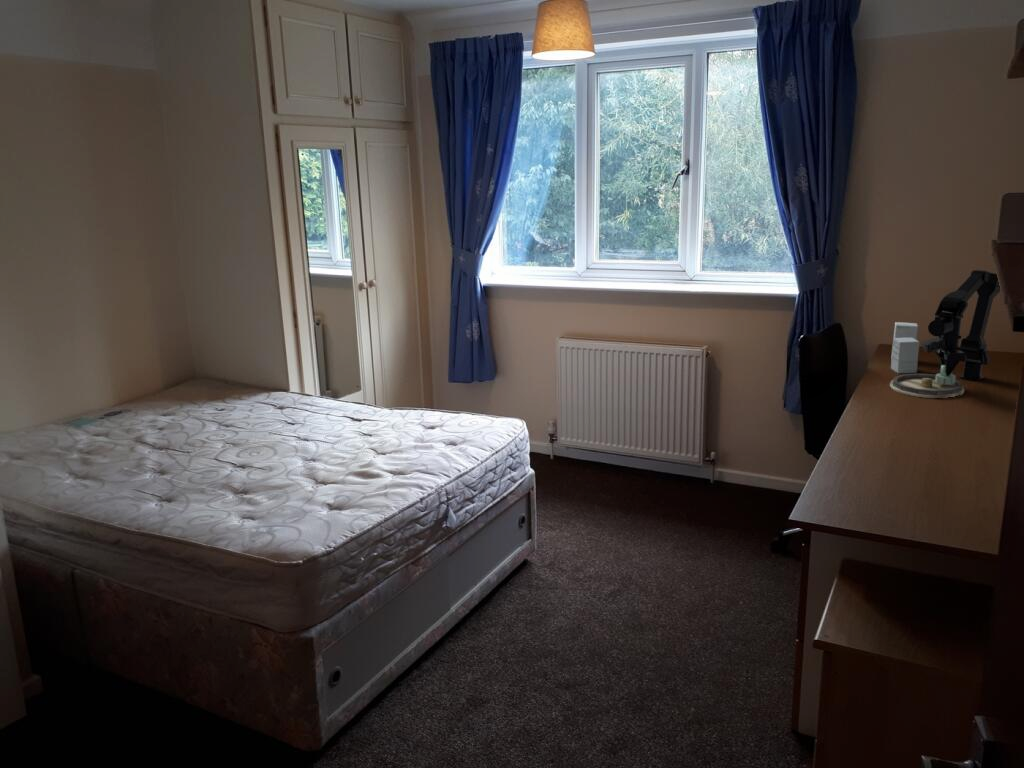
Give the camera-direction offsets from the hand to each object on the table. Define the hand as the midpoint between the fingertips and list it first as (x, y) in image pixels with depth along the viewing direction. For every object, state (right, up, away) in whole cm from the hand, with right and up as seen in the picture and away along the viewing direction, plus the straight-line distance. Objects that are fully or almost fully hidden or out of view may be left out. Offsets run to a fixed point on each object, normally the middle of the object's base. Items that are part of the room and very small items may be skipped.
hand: (945, 374), depth 285 cm
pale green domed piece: (0, -3, +1) cm, 3 cm away
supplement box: (-3, +1, +26) cm, 26 cm away
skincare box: (+4, +6, +39) cm, 40 cm away
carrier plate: (-6, -5, +3) cm, 8 cm away
